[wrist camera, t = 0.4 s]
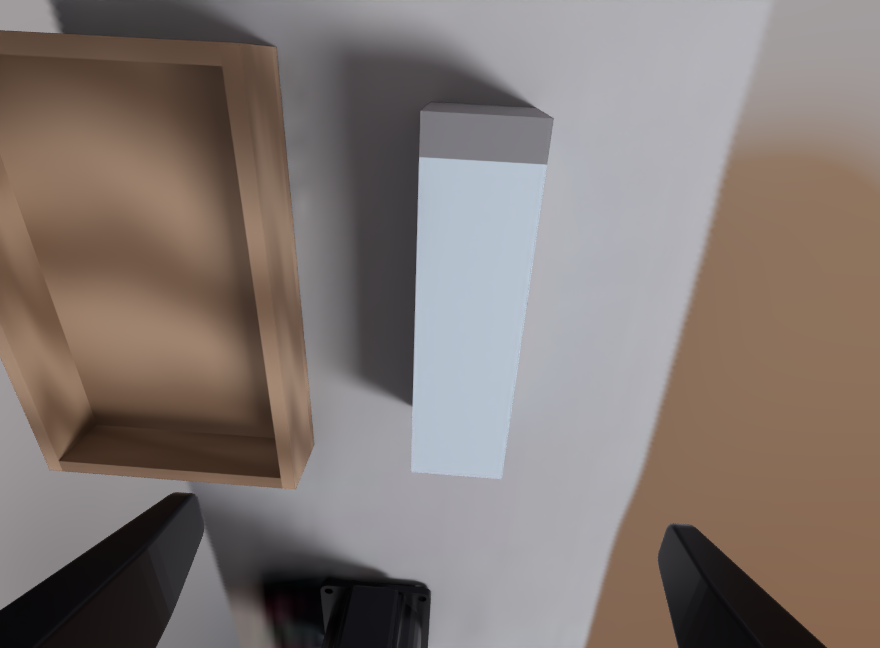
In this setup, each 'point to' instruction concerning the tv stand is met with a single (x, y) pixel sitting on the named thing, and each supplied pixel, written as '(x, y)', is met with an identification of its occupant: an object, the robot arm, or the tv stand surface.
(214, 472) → the open brown box
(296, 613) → the tv stand surface
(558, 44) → the tv stand surface
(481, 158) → the long pale blue block
